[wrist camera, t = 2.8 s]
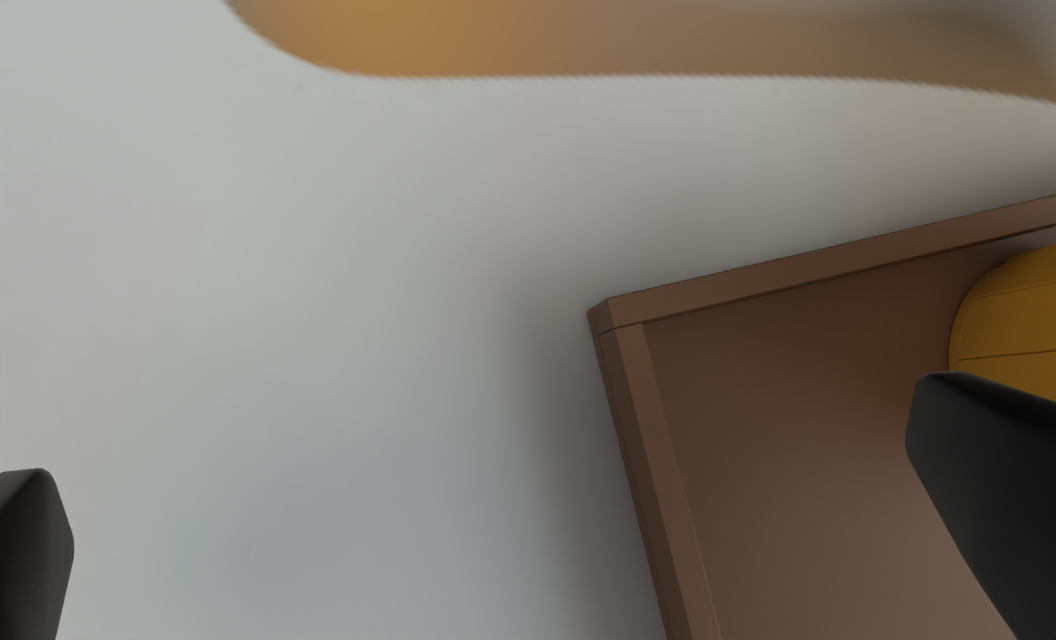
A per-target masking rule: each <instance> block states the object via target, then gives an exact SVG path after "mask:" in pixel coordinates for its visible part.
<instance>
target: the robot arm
mask: <svg viewBox="0 0 1056 640" xmlns="http://www.w3.org/2000/svg"><path fill="white" fill-rule="evenodd" d="M905 448H906V452H907V455H908V458H909V460H910V462H911V464H912V466H913V468H914V470H915V471H916V473H917V475H918V477H919V479H920V480H921V482H922V484H923V486H924V488H925V490H926V491H927V493H928V495H929V497H930V499H931V500H932V502H933V504H934V506H935V508H936V510H937V511H938V513H939V515H940V517H941V519H942V521H943V522H944V524H945V526H946V528H947V530H948V531H949V533H950V535H951V537H952V539H953V541H954V542H955V544H956V546H957V548H958V550H959V552H960V553H961V555H962V557H963V558H964V560H965V562H966V564H967V565H968V567H969V569H970V570H971V572H972V574H973V575H974V577H975V578H976V580H977V581H978V583H979V584H980V586H981V587H982V589H983V591H984V592H985V594H986V595H987V596H988V598H989V599H990V601H991V602H992V604H993V605H994V607H995V608H996V609H997V611H998V612H999V614H1000V615H1001V617H1002V618H1003V620H1004V621H1005V623H1006V624H1007V625H1008V627H1009V628H1010V630H1011V631H1012V633H1013V634H1014V636H1015V637H1016V638H1017V640H1056V402H1055V401H1052V400H1049V399H1046V398H1043V397H1040V396H1037V395H1034V394H1031V393H1028V392H1025V391H1022V390H1019V389H1016V388H1013V387H1010V386H1007V385H1004V384H1001V383H998V382H995V381H992V380H989V379H986V378H983V377H980V376H977V375H974V374H971V373H968V372H965V371H961V370H950V371H941V372H932V373H927V374H924V375H923V376H921V377H920V378H919V380H918V381H917V383H916V386H915V390H914V395H913V400H912V404H911V409H910V414H909V419H908V424H907V428H906V433H905ZM73 558H74V539H73V534H72V531H71V528H70V525H69V522H68V519H67V516H66V513H65V510H64V507H63V504H62V501H61V498H60V495H59V492H58V489H57V486H56V483H55V481H54V479H53V477H52V476H51V474H50V473H49V472H48V471H46V470H44V469H42V468H35V469H26V470H17V471H7V472H2V473H0V640H55V639H56V635H57V630H58V626H59V621H60V617H61V613H62V608H63V604H64V599H65V595H66V590H67V586H68V581H69V577H70V572H71V568H72V564H73Z"/></svg>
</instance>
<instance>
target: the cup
mask: <svg viewBox="0 0 1056 640" xmlns="http://www.w3.org/2000/svg"><path fill="white" fill-rule="evenodd" d="M948 365H949V371H950V370H961V371H965V372H968V373H971V374H974V375H977V376H980V377H983V378H986V379H989V380H992V381H995V382H998V383H1001V384H1004V385H1007V386H1010V387H1013V388H1016V389H1019V390H1022V391H1025V392H1028V393H1031V394H1034V395H1037V396H1040V397H1043V398H1046V399H1049V400H1052V401H1055V402H1056V244H1055V245H1051V246H1047V247H1044V248H1040V249H1036V250H1032V251H1028V252H1025V253H1021V254H1017V255H1013V256H1012V257H1010V258H1008V259H1007V260H1005V261H1003V262H1001V263H999V264H997V265H996V266H994V267H993V268H992V269H990V270H989V271H987V272H986V273H985V274H984V275H983V276H982V277H981V278H980V279H979V280H978V281H977V282H976V283H975V284H974V286H973V287H972V288H971V289H970V290H969V292H968V293H967V295H966V296H965V298H964V300H963V301H962V303H961V305H960V307H959V309H958V312H957V314H956V316H955V319H954V323H953V326H952V329H951V334H950V341H949V350H948Z"/></svg>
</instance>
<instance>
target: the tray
mask: <svg viewBox="0 0 1056 640" xmlns="http://www.w3.org/2000/svg"><path fill="white" fill-rule="evenodd" d="M1055 244H1056V195H1052V196H1048V197H1044V198H1039V199H1035V200H1031V201H1026V202H1022V203H1018V204H1013V205H1009V206H1005V207H1000V208H996V209H992V210H987V211H983V212H979V213H974V214H970V215H966V216H961V217H957V218H953V219H948V220H944V221H940V222H935V223H931V224H927V225H922V226H918V227H914V228H909V229H905V230H901V231H896V232H892V233H888V234H883V235H879V236H875V237H870V238H866V239H862V240H857V241H853V242H849V243H844V244H840V245H836V246H831V247H827V248H823V249H818V250H814V251H810V252H805V253H801V254H797V255H792V256H788V257H784V258H779V259H775V260H771V261H766V262H762V263H757V264H753V265H749V266H744V267H740V268H736V269H731V270H727V271H723V272H718V273H714V274H710V275H705V276H701V277H697V278H692V279H688V280H684V281H679V282H675V283H671V284H666V285H662V286H658V287H653V288H649V289H645V290H640V291H636V292H632V293H627V294H623V295H619V296H614V297H610V298H607V299H605V300H604V301H602V302H600V303H599V304H597V305H596V306H594V307H592V308H591V309H589V310H588V311H587V316H588V320H589V324H590V328H591V332H592V336H593V340H594V344H595V348H596V352H597V356H598V360H599V364H600V368H601V372H602V376H603V380H604V384H605V388H606V392H607V396H608V401H609V405H610V409H611V413H612V417H613V421H614V425H615V429H616V433H617V437H618V441H619V445H620V449H621V453H622V457H623V461H624V465H625V469H626V473H627V477H628V481H629V485H630V489H631V493H632V497H633V501H634V505H635V509H636V513H637V517H638V522H639V526H640V530H641V534H642V538H643V542H644V546H645V550H646V554H647V558H648V562H649V566H650V570H651V574H652V578H653V582H654V586H655V590H656V594H657V598H658V602H659V606H660V610H661V614H662V618H663V622H664V626H665V630H666V634H667V638H668V640H1017V638H1016V637H1015V636H1014V634H1013V633H1012V631H1011V630H1010V628H1009V627H1008V625H1007V624H1006V623H1005V621H1004V620H1003V618H1002V617H1001V615H1000V614H999V612H998V611H997V609H996V608H995V607H994V605H993V604H992V602H991V601H990V599H989V598H988V596H987V595H986V594H985V592H984V591H983V589H982V587H981V586H980V584H979V583H978V581H977V580H976V578H975V577H974V575H973V574H972V572H971V570H970V569H969V567H968V565H967V564H966V562H965V560H964V558H963V557H962V555H961V553H960V552H959V550H958V548H957V546H956V544H955V542H954V541H953V539H952V537H951V535H950V533H949V531H948V530H947V528H946V526H945V524H944V522H943V521H942V519H941V517H940V515H939V513H938V511H937V510H936V508H935V506H934V504H933V502H932V500H931V499H930V497H929V495H928V493H927V491H926V490H925V488H924V486H923V484H922V482H921V480H920V479H919V477H918V475H917V473H916V471H915V470H914V468H913V466H912V464H911V462H910V460H909V458H908V455H907V452H906V448H905V433H906V428H907V424H908V419H909V414H910V409H911V404H912V400H913V395H914V390H915V386H916V383H917V381H918V380H919V378H920V377H921V376H923V375H924V374H927V373H932V372H941V371H949V365H948V350H949V341H950V334H951V329H952V326H953V323H954V319H955V316H956V314H957V312H958V309H959V307H960V305H961V303H962V301H963V300H964V298H965V296H966V295H967V293H968V292H969V290H970V289H971V288H972V287H973V286H974V284H975V283H976V282H977V281H978V280H979V279H980V278H981V277H982V276H983V275H984V274H985V273H986V272H987V271H989V270H990V269H992V268H993V267H994V266H996V265H997V264H999V263H1001V262H1003V261H1005V260H1007V259H1008V258H1010V257H1012V256H1013V255H1017V254H1021V253H1025V252H1028V251H1032V250H1036V249H1040V248H1044V247H1047V246H1051V245H1055Z"/></svg>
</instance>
